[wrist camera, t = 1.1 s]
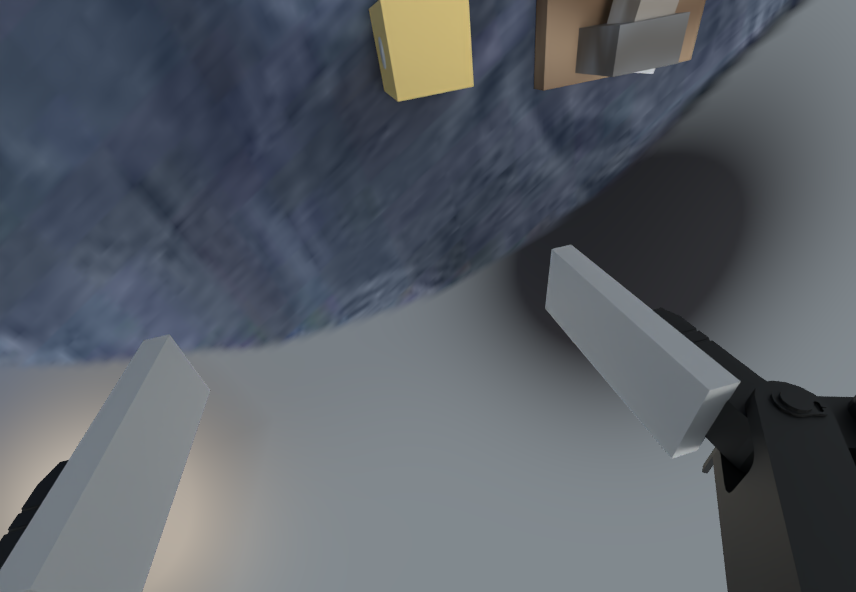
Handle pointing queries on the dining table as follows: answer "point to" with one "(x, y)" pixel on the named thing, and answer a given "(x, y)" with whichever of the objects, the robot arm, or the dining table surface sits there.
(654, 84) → the dining table surface
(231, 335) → the dining table surface
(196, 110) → the dining table surface
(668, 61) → the brown wooden base
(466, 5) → the block
